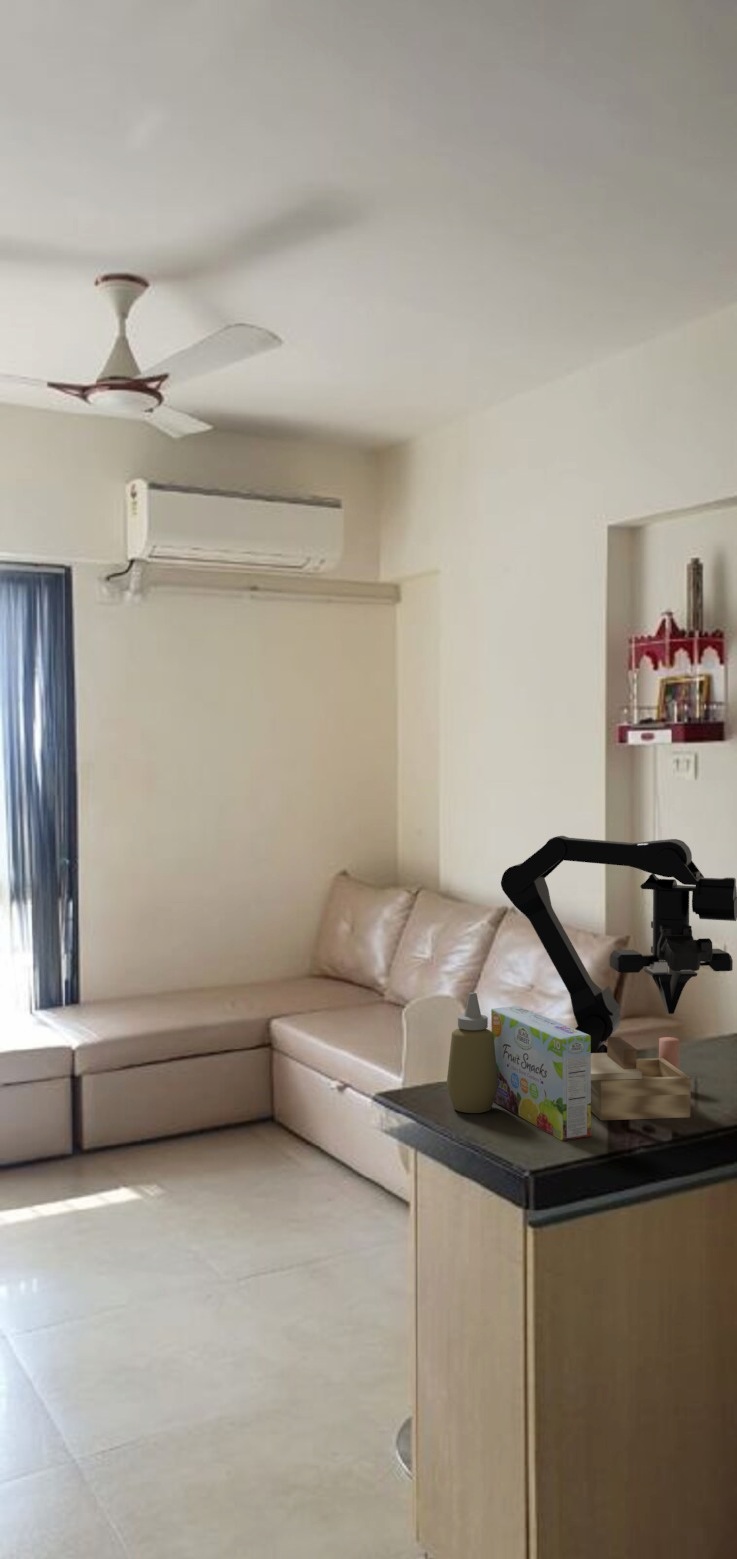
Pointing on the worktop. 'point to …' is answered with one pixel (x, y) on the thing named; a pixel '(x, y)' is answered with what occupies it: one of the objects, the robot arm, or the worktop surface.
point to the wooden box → (643, 1093)
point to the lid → (615, 1061)
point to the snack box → (543, 1071)
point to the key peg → (669, 1050)
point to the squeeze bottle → (472, 1062)
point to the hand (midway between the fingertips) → (670, 1013)
